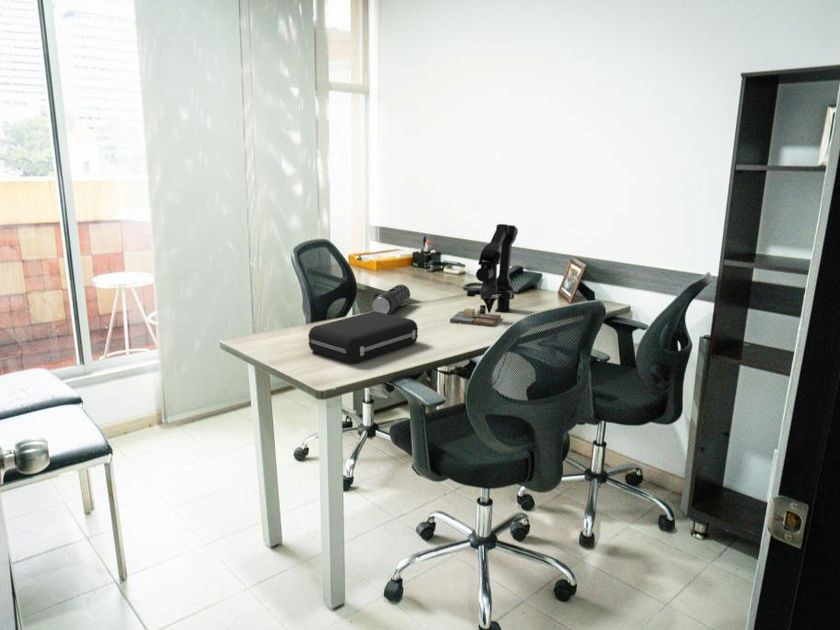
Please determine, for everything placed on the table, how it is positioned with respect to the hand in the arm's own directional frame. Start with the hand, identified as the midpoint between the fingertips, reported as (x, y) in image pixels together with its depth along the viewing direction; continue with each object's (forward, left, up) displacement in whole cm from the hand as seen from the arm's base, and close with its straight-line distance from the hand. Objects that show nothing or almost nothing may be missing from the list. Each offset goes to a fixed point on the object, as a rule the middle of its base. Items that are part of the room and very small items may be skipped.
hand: (489, 312), depth 270 cm
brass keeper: (0, -8, -3) cm, 8 cm away
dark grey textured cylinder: (-2, -47, -4) cm, 47 cm away
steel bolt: (0, -6, -2) cm, 6 cm away
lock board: (0, -7, -4) cm, 8 cm away
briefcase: (+52, -38, -5) cm, 65 cm away
